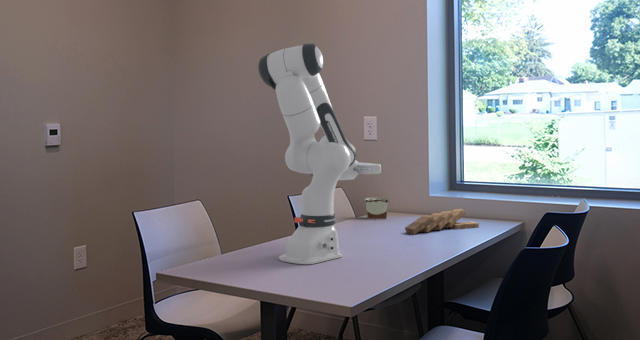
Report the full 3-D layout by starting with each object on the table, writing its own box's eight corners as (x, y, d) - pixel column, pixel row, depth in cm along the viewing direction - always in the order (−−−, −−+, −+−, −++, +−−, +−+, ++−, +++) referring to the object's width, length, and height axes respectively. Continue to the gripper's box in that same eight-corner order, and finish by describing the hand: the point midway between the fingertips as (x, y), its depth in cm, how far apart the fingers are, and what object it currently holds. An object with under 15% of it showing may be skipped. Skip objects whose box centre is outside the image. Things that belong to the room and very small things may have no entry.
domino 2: (426, 227, 221) (442, 213, 228) (417, 226, 225) (433, 213, 232) (427, 232, 222) (444, 218, 228) (418, 231, 226) (435, 217, 232)
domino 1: (412, 229, 218) (432, 215, 223) (404, 227, 222) (424, 214, 228) (414, 234, 219) (434, 220, 224) (406, 232, 223) (425, 219, 228)
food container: (389, 217, 265) (389, 197, 264) (389, 219, 259) (389, 198, 258) (364, 217, 266) (364, 197, 266) (364, 219, 260) (364, 198, 260)
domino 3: (438, 224, 225) (451, 211, 233) (428, 224, 228) (441, 211, 236) (440, 229, 225) (453, 215, 233) (430, 229, 229) (443, 216, 237)
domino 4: (449, 222, 229) (463, 208, 236) (439, 222, 233) (453, 209, 240) (451, 227, 229) (465, 213, 237) (441, 227, 233) (455, 214, 240)
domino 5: (455, 225, 229) (478, 223, 234) (449, 223, 234) (471, 221, 238) (455, 230, 229) (478, 228, 234) (449, 228, 234) (471, 226, 238)
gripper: (361, 161, 198) (392, 160, 204) (336, 159, 217) (366, 158, 222) (361, 178, 198) (392, 176, 204) (337, 174, 217) (366, 173, 223)
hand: (378, 167), depth 213 cm, fingers closed
